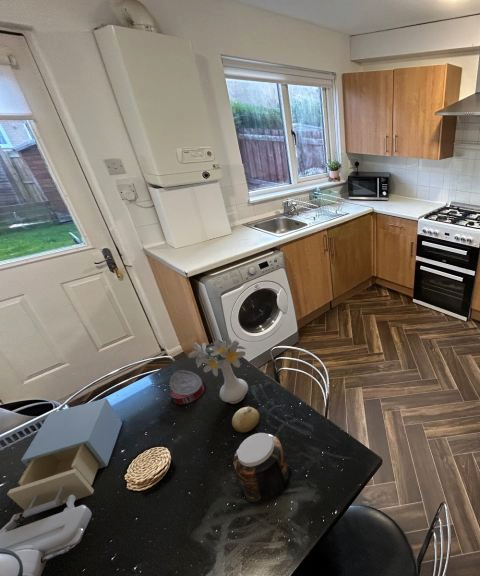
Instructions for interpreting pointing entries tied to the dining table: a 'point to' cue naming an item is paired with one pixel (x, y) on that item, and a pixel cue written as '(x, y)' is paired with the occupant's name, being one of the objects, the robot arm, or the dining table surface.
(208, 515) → the dining table surface
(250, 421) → the yellow-brown oval lump
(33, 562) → the robot arm
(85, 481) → the beige drawer
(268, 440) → the jar
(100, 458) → the drawer casing
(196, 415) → the dining table surface
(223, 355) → the flower vase
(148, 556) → the dining table surface
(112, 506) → the dining table surface
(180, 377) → the canned food
